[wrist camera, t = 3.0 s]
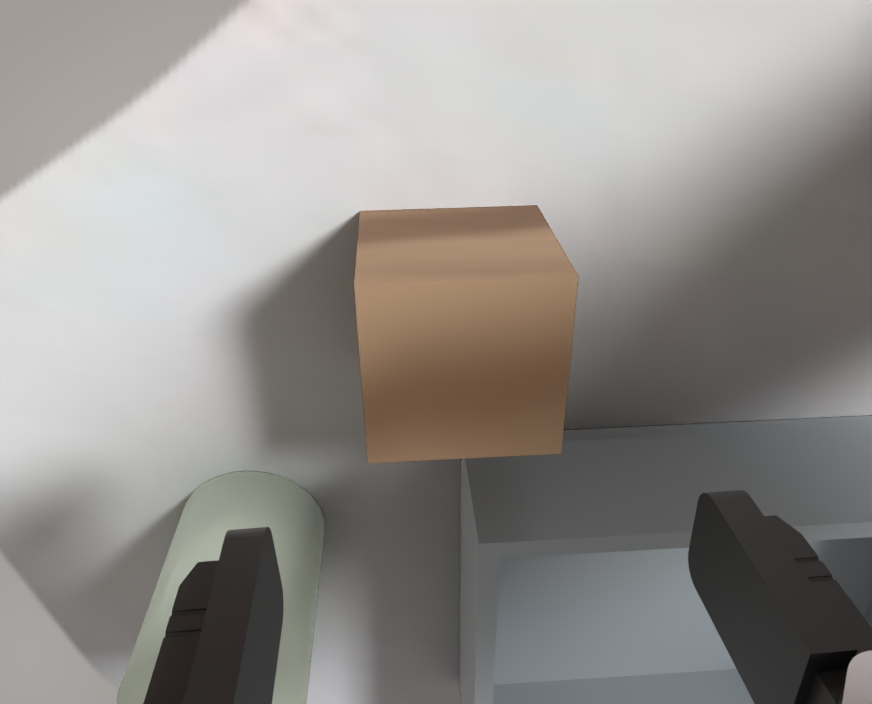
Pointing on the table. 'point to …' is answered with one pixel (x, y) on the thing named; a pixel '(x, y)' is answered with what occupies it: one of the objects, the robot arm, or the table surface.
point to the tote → (638, 554)
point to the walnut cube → (462, 333)
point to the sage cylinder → (202, 541)
